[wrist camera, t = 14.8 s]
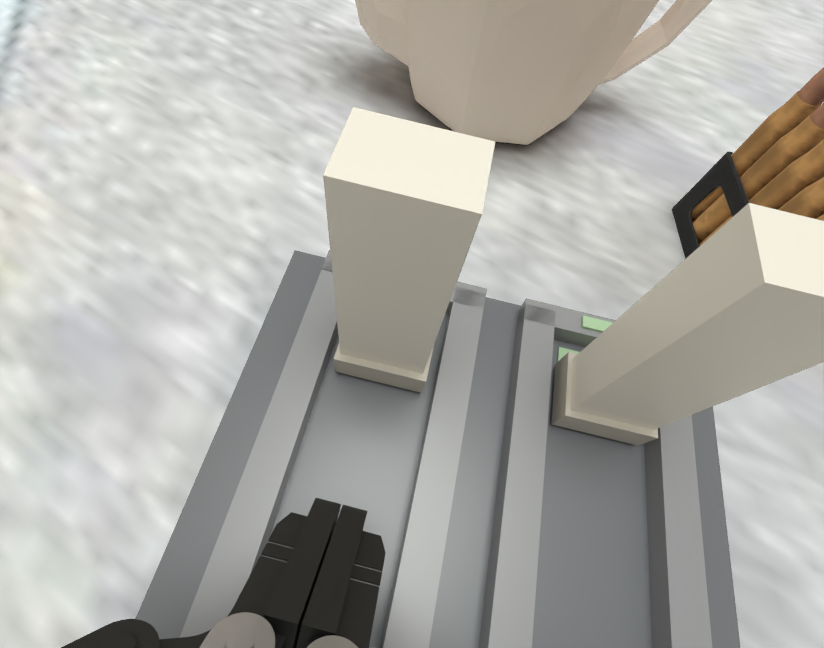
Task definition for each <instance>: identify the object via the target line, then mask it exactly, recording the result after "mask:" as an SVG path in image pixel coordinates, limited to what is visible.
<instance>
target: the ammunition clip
mask: <svg viewBox="0 0 824 648" xmlns="http://www.w3.org/2000/svg"><path fill="white" fill-rule="evenodd" d="M823 102H824V68H822V69H821V70H820V71H819V72H818V73H817V74H816V75H815V76H814V77H813V78H812V79H811V80H810V81H809V82H808V83H807V84H806V85H805V86H804V87H803V88H802V89H801V90H800V91H798V92H797V93H796V94H795V95H794V96H793V97H792V98H791V99H790V100H788V101H787V102H786V103H785V104H784V105H783V106H782V107H780V108H779V109H778V110H776V111H775V112H774V113H772V114H771V115H770V116H769V117H768V118H767V119H766V120H765V121H764V122H763V123H762V124H761V125H760V126H759V127H758V128H757V129H756V130H755V131H754V133H753V134H752V135H751V136H750V137H749V138H748V139H747V140H746V141H745V142H744V143H743V144H742V145H741V146H740V147H739V148H738V149H737V150H736V151H735V152H734V153H732V152H727V153H726V154H725V155H724V156H723V157H722V158H721V159H720V160H719V161H718V162H717V163H716V164H715V165H714V166H713V167H712V168H711V169H710V170H709V171H708V172H707V173H706V174H705V175H704V177H703V178H702V179H701V180H700V181H699V182H698V183H697V184H696V185H695V186H694V187H693V188H692V189H691V190H690V191H689V192H688V193H687V194H686V195H685V196H684V197H683V198H682V199H681V200H680V201H679V202H678V203H677V204H676V205H675V206H674V207H673V209H672V211H673V215H674V219H675V222H676V226H677V229H678V233H679V237H680V240H681V244H682V247H683V251H684V254H685V258H687V257H688V256H689V255H691V254H692V253H693V252H694V251H695V250H696V249H697V248H698V247H700V246H701V245H702V244H703V243H704V242H705V241H706V240H707V239H709V238H710V237H711V236H712V235H713V234H714V233H715V232H717V231H718V230H719V229H720V228H721V227H722V226H723V225H724V224H726V223H727V222H728V221H729V220H730V219H731V218H732V217H733V216H735V215H736V214H737V213H738V212H739V211H740V210H741V209H743V208H744V207H745V206H746V205H747V204H748V203H752V204H756V205H760V206H764V207H768V208H772V209H776V210H780V211H785V212H789V213H793V214H797V215H801V216H805V217H809V218H813V219H817V220H821V221H824V103H823ZM822 103H823V104H822ZM821 104H822V105H821Z"/></svg>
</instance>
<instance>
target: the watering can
mask: <svg viewBox="0 0 824 648" xmlns="http://www.w3.org/2000/svg"><path fill="white" fill-rule="evenodd" d="M355 1H356V6H357V10H358V15H359V20H360V24H361V26H362V27H363V29H364V30H365V32H366V33H367V35H368V36H369V37H370V39H371V40H372V42H373V43H374V44H375V45H377V46H378V47H380V48H381V49H383V50H384V51H386V52H387V53H389V54H390V55H392V56H393V57H395V58H396V59H398V60H399V61H401V62H402V63H404V64H405V65H407V66H408V67H409V73H410V80H411V85H412V89H413V93H414V97H415V100H416V101H417V102H418V103H419V104H420V105H422V106H423V107H424V108H425V109H427V110H428V111H429V112H430V113H431V114H433V115H434V116H435V117H436V118H438V119H439V120H440V121H441V122H443V123H444V124H445V125H446V126H448V127H449V128H450V129H452V130H453V131H454V132H458V133H462V134H466V135H470V136H474V137H478V138H483V139H487V140H491V141H495V142H505V143H515V144H524V145H528V144H530V143H532V142H533V141H535V140H536V139H537V138H539V137H540V136H542V135H543V134H545V133H546V132H548V131H549V130H551V129H552V128H554V127H555V126H557V125H558V124H560V123H561V122H563V121H564V120H566V119H567V118H568V117H569V116H570V115H571V114H572V113H573V112H574V111H575V110H576V109H577V108H578V107H579V106H580V105H581V104H582V103H583V102H584V101H585V99H586V98H587V97H588V96H589V95H590V94H591V93H592V92H593V90H594V89H595V88H596V87H597V86H598V85H600V84H602V83H605V82H608V81H611V80H614V79H616V78H618V77H620V76H621V75H623V74H624V73H626V72H627V71H629V70H630V69H632V68H634V67H635V66H637V65H638V64H640V63H641V62H643V61H645V60H646V59H648V58H649V57H651V56H652V55H654V54H656V53H657V52H659V51H660V50H662V49H663V48H665V47H667V46H668V45H669V44H670V43H671V42H672V41H673V40H674V39H675V38H676V37H677V36H678V35H679V34H680V33H681V32H682V31H683V30H684V29H685V28H686V27H687V26H688V25H689V24H690V23H691V22H692V21H693V20H694V19H695V18H696V17H697V16H698V15H699V13H700V12H701V11H702V10H703V9H704V8H705V7H706V6H707V5H708V4H709V3H710V2H711V1H712V0H676V2H675V3H674V4H673V5H672V6H671V7H670V9H669V10H668V11H667V12H666V13H665V14H664V15H663V17H662V18H661V19H660V20H659V21H658V22H656V23H655V24H653V25H652V26H651V27H649V28H648V29H647V30H645V31H644V32H642V33H641V34H640V35H638V36H637V37H635V38H634V36H635V35H636V33H637V32H638V30H639V29H640V28H641V26H642V25H643V23H644V22H645V20H646V19H647V17H648V16H649V14H650V13H651V11H652V10H653V9H654V7H655V6H656V4H657V3H658V1H659V0H355ZM633 38H634V39H633ZM632 39H633V40H632Z"/></svg>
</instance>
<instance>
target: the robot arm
mask: <svg viewBox="0 0 824 648" xmlns="http://www.w3.org/2000/svg"><path fill="white" fill-rule="evenodd" d="M340 507H341V504H339V503H335V502H331V501H328V500H324V499H320V498H315V500H314V502H313V505H312V507H311V509H310V511H309V514H308V516H304V515H300V514H297V513H293V512H291V513H290V514H288V515H287V516H286V517H285V518H283V519H282V520H281V521H280V522H279V523H277V524H276V526H275V528H274V530H273V532H272V534H271V536H270V538H269V540H268V543H267V544H266V545H265V547H264V549H263V551H262V553H261V556H260V557H259V559H258V561H257V563H256V565H255V567H254V568H253V570H252V572H251V574H250V576H249V578H248V580H247V582H246V584H245V586H244V588H243V589H242V591H241V593H240V595H239V597H238V599H237V601H236V603H235V605H234V607H233V608H232V610H231V612H230V613H229V614H228V616H227V617H226V618H224V619H222V620H221V621H220V622H218V623H217V624H216V625H215V626H214V627H213V628H212V629H211V630H209V631H207V632H204V633H202V634H199V635H195V636H190V637H181V638H169V639H159V636H158V633H157V631H156V630H155V628H154V627H153V626H152V625H151V624H149V623H147V622H145V621H142V620H138V619H126V620H120V621H117V622H113V623H111V624H109V625H106V626H104V627H102V628H100V629H98V630H96V631H94V632H92V633H90V634H88V635H86V636H84V637H82V638H80V639H78V640H76V641H74V642H72V643H70V644H68V645H66V646H64V647H62V648H369V644H370V638H371V632H372V627H373V621H374V616H375V610H376V604H377V599H378V593H379V587H380V582H381V576H382V570H383V565H384V559H385V554H386V552H385V548H384V545H383V541H382V538H381V536H380V535H377V534H373V533H369V532H365V531H363V527H364V523H365V519H366V515H367V511H366V510H362V509H358V508H355V507H351V506H347V505H343V506H342V508H341V511H340ZM339 512H340V514H339ZM338 516H339V517H338Z"/></svg>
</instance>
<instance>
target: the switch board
mask: <svg viewBox="0 0 824 648" xmlns="http://www.w3.org/2000/svg"><path fill="white" fill-rule="evenodd" d="M486 291H487V289H485V288H481V287H477V286H473V285H469V284H465V283H461V282H457V283H456V286H455V288H454V291H453V294H452V297H451V299H450V302H449V305H448V307H447V310H446V313H445V316H444V318H443V321H442V324H441V326H440V329H439V332H438V335H437V337H436V340H435V343H434V347H433V352H432V357H431V361H430V366H429V371H428V375H427V380H426V383H425V386H424V388H423V391H422V393H420V392H416V391H412V390H408V389H404V388H400V387H396V386H392V385H388V384H383V383H379V382H375V381H371V380H367V379H363V378H359V377H355V376H351V375H347V374H343V373H339V372H335V366H334V356H335V353H336V350H337V347H338V344H339V335H338V325H337V314H336V303H335V293H334V282H333V272H332V261H331V251H330V250H329V252H328V254H327V257H326V258H324V257H320V256H316V255H311V254H307V253H303V252H299V251H294V254H293V256H292V258H291V261H290V263H289V265H288V268H287V270H286V272H285V275H284V277H283V279H282V281H281V284H280V286H279V288H278V291H277V293H276V295H275V298H274V300H273V302H272V305H271V307H270V309H269V312H268V314H267V316H266V318H265V321H264V323H263V325H262V328H261V330H260V332H259V335H258V337H257V339H256V342H255V344H254V346H253V349H252V351H251V353H250V355H249V358H248V360H247V362H246V365H245V367H244V369H243V372H242V374H241V376H240V379H239V381H238V383H237V386H236V388H235V390H234V392H233V395H232V397H231V399H230V402H229V404H228V406H227V409H226V411H225V413H224V416H223V418H222V420H221V422H220V425H219V427H218V429H217V432H216V434H215V436H214V439H213V441H212V443H211V446H210V448H209V450H208V453H207V455H206V457H205V459H204V462H203V464H202V466H201V469H200V471H199V473H198V476H197V478H196V480H195V483H194V485H193V487H192V490H191V492H190V494H189V496H188V499H187V501H186V503H185V506H184V508H183V510H182V513H181V515H180V517H179V520H178V522H177V524H176V527H175V529H174V531H173V533H172V536H171V538H170V540H169V543H168V545H167V547H166V550H165V552H164V554H163V557H162V559H161V561H160V564H159V566H158V568H157V570H156V573H155V575H154V577H153V580H152V582H151V584H150V587H149V589H148V591H147V594H146V596H145V598H144V601H143V603H142V605H141V607H140V610H139V612H138V614H137V617H136V619H138V620H142V621H145V622H147V623H149V624H151V625H152V626H153V627H154V628H155V630H156V631H157V633H158V636H159V639H169V638H181V637H190V636H195V635H199V634H202V633H204V632H207V631H209V630H211V629H212V628H213V627H214V626H215V625H216V624H217V623H218V622H220V621H221V620H222V619H224V618H226V617H227V616H228V614H229V613H230V612H231V610H232V608H233V607H234V605H235V603H236V601H237V599H238V597H239V595H240V593H241V591H242V589H243V588H244V586H245V584H246V582H247V580H248V578H249V576H250V574H251V572H252V570H253V568H254V567H255V565H256V563H257V561H258V559H259V557H260V556H261V553H262V551H263V549H264V547H265V545H266V544H267V543H268V540H269V538H270V536H271V534H272V532H273V530H274V528H275V526H276V524H277V523H279V522H280V521H281V520H282V519H283V518H285V517H286V516H287V515H288V514H290V513H291V512H293V513H297V514H300V515H304V516H308V514H309V511H310V509H311V507H312V505H313V502H314V500H315V498H320V499H324V500H328V501H331V502H335V503H339V504H341V507H340V511H341V508H342V506H343V505H347V506H351V507H355V508H358V509H362V510H366V511H367V515H366V519H365V523H364V527H363V531H365V532H369V533H373V534H377V535H380V536H381V538H382V541H383V545H384V548H385V552H386V554H385V559H384V565H383V570H382V576H381V582H380V587H379V593H378V599H377V604H376V610H375V616H374V621H373V627H372V632H371V638H370V644H369V648H740V641H739V632H738V623H737V615H736V606H735V597H734V588H733V580H732V571H731V562H730V553H729V544H728V536H727V527H726V518H725V509H724V500H723V492H722V483H721V474H720V465H719V457H718V448H717V439H716V430H715V421H714V413H713V406H712V407H710V408H707V409H705V410H702V411H700V412H697V413H695V414H692V415H690V416H687V417H685V418H682V419H680V420H677V421H675V422H672V423H670V424H667V425H665V426H662V427H660V428H658V438H657V439H655V440H652V441H649V442H647V443H644V444H641V445H638V446H637V445H633V444H629V443H625V442H621V441H617V440H613V439H609V438H605V437H601V436H597V435H593V434H589V433H584V432H580V431H576V430H572V429H568V428H564V427H560V426H556V425H552V424H551V422H552V407H553V392H554V377H555V364H556V363H557V362H558V361H559V360H560V359H561V358H562V357H564V356H565V355H566V354H567V353H568V352H572V353H576V354H579V353H580V352H581V351H582V350H583V349H584V348H585V347H587V346H588V345H589V344H590V343H591V342H592V341H593V340H594V339H596V338H597V337H598V336H599V335H600V334H601V333H602V332H603V331H605V330H606V329H607V328H608V327H609V326H610V325H611V324H613V323H614V322H615V321H616V320H612V319H608V318H604V317H600V316H596V315H591V314H587V313H583V312H579V311H575V310H571V309H567V308H563V307H559V306H555V305H551V304H547V303H543V302H538V301H534V300H530V299H526V300H525V301H524V303H523V304H522V306H519V305H515V304H511V303H507V302H503V301H499V300H495V299H491V298H487V297H486ZM339 514H340V512H339ZM338 517H339V516H338Z"/></svg>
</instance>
